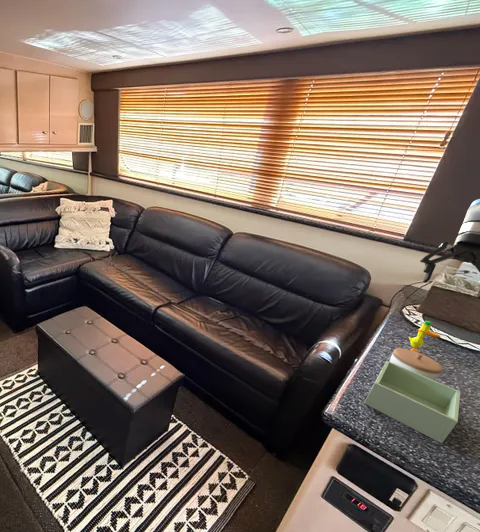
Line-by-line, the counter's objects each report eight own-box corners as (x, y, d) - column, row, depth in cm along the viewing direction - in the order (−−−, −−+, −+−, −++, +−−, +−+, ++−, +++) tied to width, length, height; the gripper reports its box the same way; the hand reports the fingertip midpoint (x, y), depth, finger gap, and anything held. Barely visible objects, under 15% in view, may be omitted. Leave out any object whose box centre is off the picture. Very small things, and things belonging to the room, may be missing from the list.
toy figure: (428, 354, 113) (446, 326, 109) (427, 358, 111) (445, 328, 106) (403, 344, 118) (419, 317, 113) (401, 348, 116) (418, 319, 111)
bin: (446, 411, 86) (460, 391, 84) (441, 443, 75) (457, 421, 73) (376, 379, 97) (386, 360, 94) (363, 403, 86) (375, 382, 83)
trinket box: (425, 397, 91) (442, 370, 88) (378, 374, 99) (392, 349, 96) (433, 384, 97) (449, 359, 93) (388, 364, 105) (401, 340, 101)
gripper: (517, 255, 109) (496, 307, 106) (421, 231, 122) (400, 278, 119) (534, 245, 103) (513, 301, 100) (431, 222, 116) (410, 270, 113)
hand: (452, 288), depth 110 cm, fingers open, 13 cm apart
